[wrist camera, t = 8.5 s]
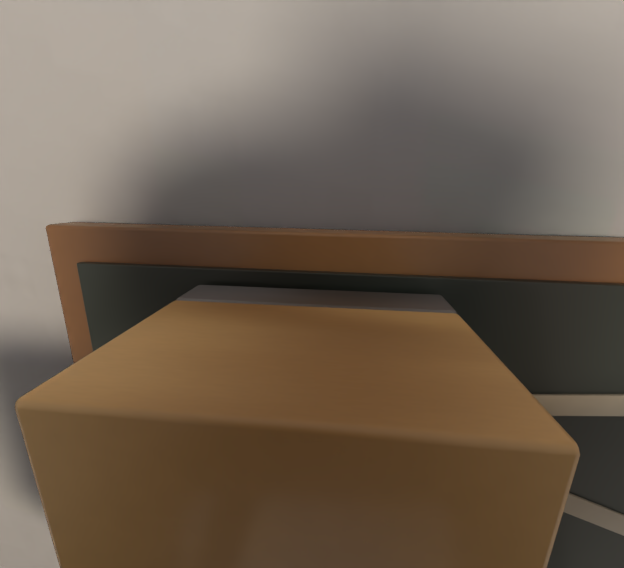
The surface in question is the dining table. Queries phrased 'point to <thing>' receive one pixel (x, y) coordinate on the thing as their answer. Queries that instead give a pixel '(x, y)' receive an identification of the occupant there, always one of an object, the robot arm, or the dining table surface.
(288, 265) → the slate board
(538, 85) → the dining table surface
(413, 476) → the eraser
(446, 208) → the dining table surface
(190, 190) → the dining table surface
